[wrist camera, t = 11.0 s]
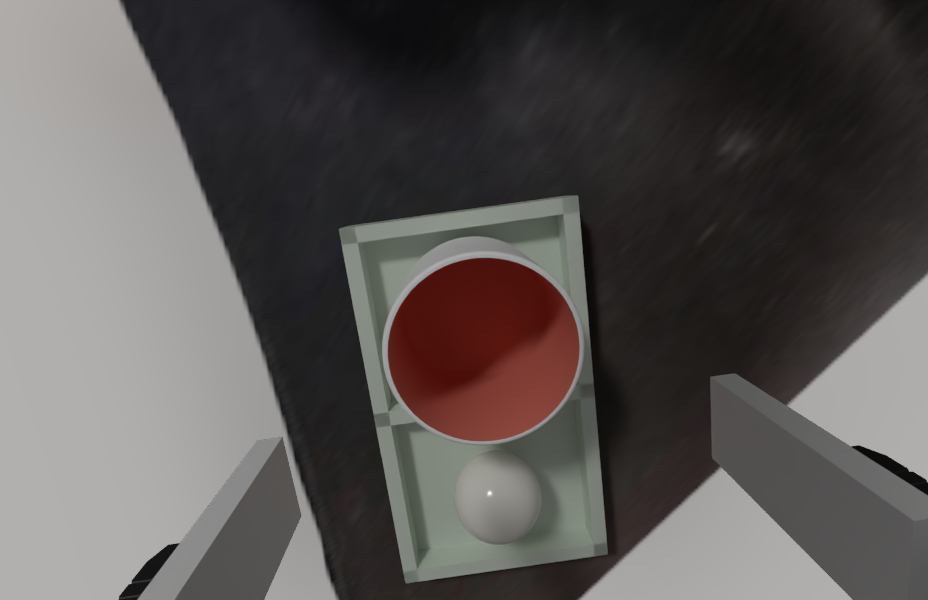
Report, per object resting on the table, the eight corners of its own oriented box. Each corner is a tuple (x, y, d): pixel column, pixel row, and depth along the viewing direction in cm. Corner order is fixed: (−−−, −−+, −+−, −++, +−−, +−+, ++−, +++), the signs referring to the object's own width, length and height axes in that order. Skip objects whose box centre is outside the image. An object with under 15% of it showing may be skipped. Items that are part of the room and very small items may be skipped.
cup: (544, 230, 33) (585, 245, 23) (546, 371, 35) (585, 440, 25) (395, 238, 32) (372, 257, 23) (406, 380, 35) (390, 452, 25)
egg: (447, 440, 36) (447, 488, 30) (528, 429, 36) (544, 475, 30) (458, 512, 37) (461, 572, 31) (537, 501, 37) (554, 559, 31)
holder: (348, 225, 33) (338, 228, 30) (565, 195, 33) (578, 195, 30) (408, 552, 39) (405, 583, 36) (594, 525, 39) (607, 554, 36)
